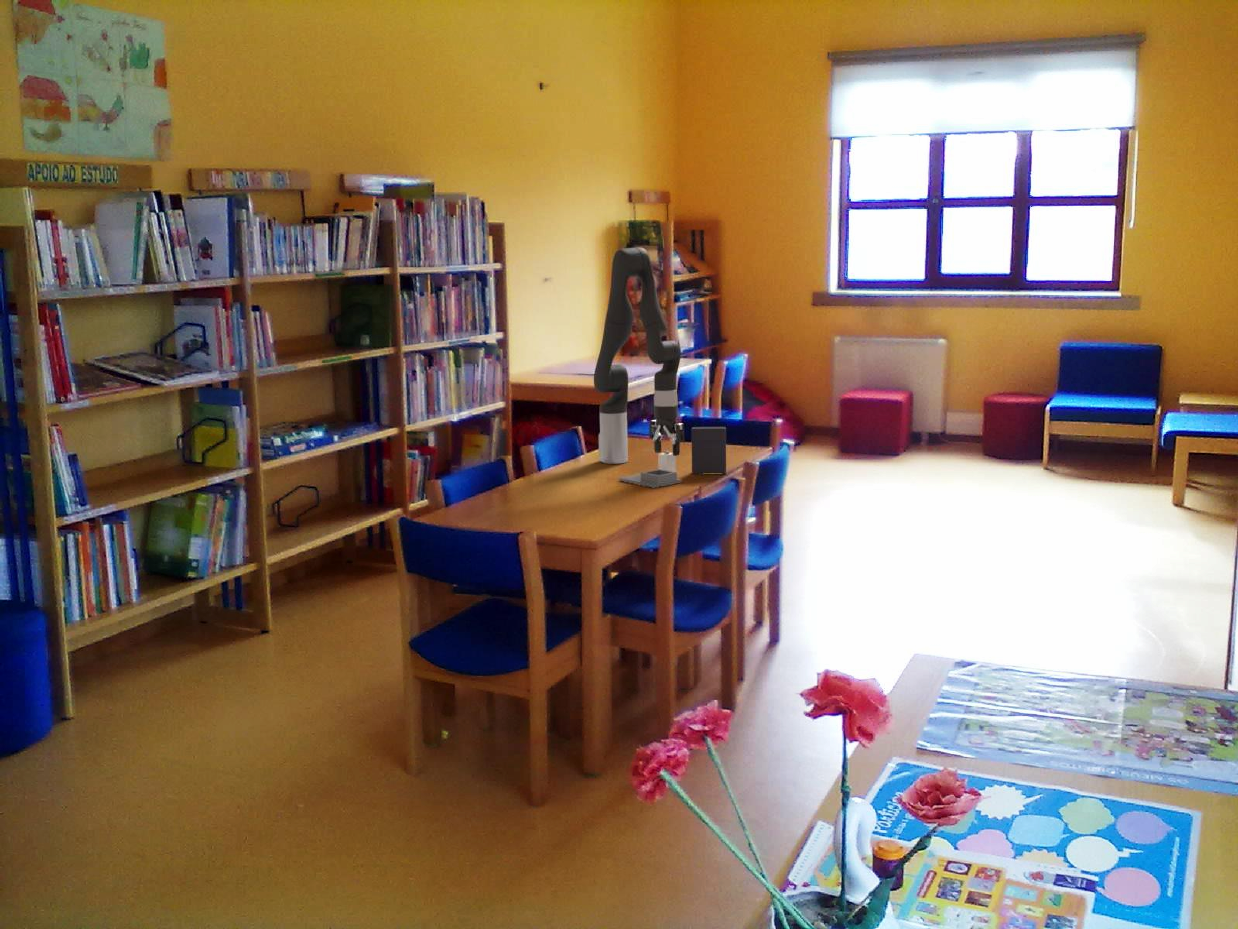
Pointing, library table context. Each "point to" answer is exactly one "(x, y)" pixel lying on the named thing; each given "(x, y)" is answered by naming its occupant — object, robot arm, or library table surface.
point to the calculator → (708, 450)
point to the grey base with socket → (653, 478)
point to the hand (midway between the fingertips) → (667, 454)
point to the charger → (667, 461)
